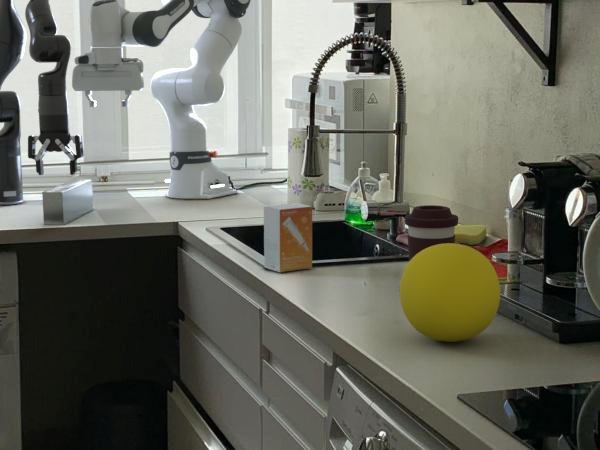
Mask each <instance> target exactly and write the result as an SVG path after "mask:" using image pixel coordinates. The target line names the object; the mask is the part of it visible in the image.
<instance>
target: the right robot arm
mask: <svg viewBox="0 0 600 450" xmlns="http://www.w3.org/2000/svg"><path fill="white" fill-rule="evenodd" d="M160 1H161V4H162V6H161V7H160V8H159V9H158V10H147V11H131V10H128V9H126V8H125V7H123V6H122V5H121V4H120V3H119V0H97V1H94V3H92V4H91V7H90V12H89V33H90V36H91V44H90V52H86V53H84V54H81V55H78V56H76V57H75V58H74V64H75V66H74V68H73V69H72V75H71V87H72V89H73V90H74V91H75V92H84V95H85V97H86V99H87V100H88V102H89V108H96V107H97V100H94V99H93V98H92V95H93V92H124V94H125V95H126V97H125V99H124V100H121V107H122V108H129V101H130V99H131V97H132V96H133V92H135V91H138V92H139V91H143V89H144V88H145V82H144V75H143V72H144V62H143V61H142V60H141V59H140V58H138V57H124V54H123V53H124V52H123V51H124V50H123V47H150V48H157V47H159V46H162V44H163V43H164V42H165V41H166V39H167V37H168V36H169V34H170V32H171V31H172V29H174V27H175V26H177V25H178V24H179V23H180V22H182V20H184V19H185V17H187V16H188V15H189V13H190V12H192V13H193V14H194V15H195V16H196V17H198V18H201V19H210V20H209V22H208V25H207V26H206V27H205V29H204V30H203V32H202V33H201V34H200V36H199V38H198V39H197V40H196V41H195V43H194V45H193V46H192V47H191V49H190V54H189V55H190V61H191V63H192V65H191V66H190V67H187V68H168V69H164V70H160V71H157V72H155V74H154V75H153V76H152V78H151V81H150V93H151V95H152V97H153V98H154V100H156V102H158V104H159V105H160V106H161V108H162V109H163V111H164V114H165V116H166V119H167V123H168V128H169V138H170V141H169V142H170V150H169V165H170V176H169V178H167V179H164V182H165V183H169V184H168V189H167V194H166V197H168V198H172V199H186V200H189V199H190V200H191V199H195V200H196V199H201V200H202V199H215V198H219V197H224V196H229V195H234V194H238V191H241V190H244V189H247V188H251V187H255V186H260V185H280V184H281V185H282V184H285V183H287V182H288V181H287V178H285V179H284V180H280V181H279V180H278V181H259V182H253V183H249V184H245V185H243V186H241V187H235V185H234V183H233V181H232V180H231V176H230V175H228V174H227V173H226V172H225V171H224V170H222V168H220V167H218V166H217V165H216V163H214V162H213V161H212V158H214V159H216V158H217V157H218V155H219V154H218V151H216V150H210V151H209V150H208V144H207V140H208V139H207V137H208V136H207V126H206V123H205V121H203V120H202V119H201V118H200V117H198V115H197V113H196V111H195V109H194V106H202V107H203V106H210V105H213V104H217V103H219V102H220V101H221V100H222V98H223V97H224V94H225V89H226V85H225V81H224V78H223V77H222V75H221V73H222V70H223V68H224V66H225V64H226V63H227V61H228V60H229V58H230V57H231V55H232V54H233V52H234V51H235V49H236V47H237V45H238V43H239V41H240V38H241V35H242V33H243V28H242V24H241V22H240V21H239V19H240V18H242V17H244V16H245V15H246V13H247V9H248V8H249V6H250V4H251V0H160ZM230 186H231V188H230Z"/></svg>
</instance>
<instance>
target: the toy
mask: <svg viewBox="0 0 600 450" xmlns="http://www.w3.org/2000/svg"><path fill="white" fill-rule="evenodd" d="M399 300H400V305H401V309H402V311H403V314H404V316H405V318H406V319H407V321H408V322H409V324H410V325H411V326H412V327H413V328H414V330H415V331H417V332H418V333H419V334H421V335H423V336H424V337H427V338H429V339H432V340H435V341H439V342H445V343H455V342H462V341H466V340H469V339H472V338H474V337H476V336H478V335H480V334H481V333H483V332H484V331H485V330H486V329H487V328H489V326H490V325H491V324H492V322H493V320H494V319H495V317H496V315H497V312H498V309H499V306H500V302H501V285H500V280H499V276H498V273H497V271H496V269H495V268H494V265H493V264H492V263H491V261H490V260H489V259H488V257H486V256H485V255H484V254H483V253H481V252H480V251H479V250H477V249H475V248H473V247H471V246H468V245H465V244H461V243H455V244H454V243H445V244H438V245H434V246H431V247H428V248H426V249H424V250H422V251H420V252H419V253H418V254H416V255H415V256H414V257H413V258H412V259H411V260H410V261H409V260H408V262H407V264H406V265H405V268H404V270H403V272H402V275H401V278H400V283H399Z"/></svg>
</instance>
